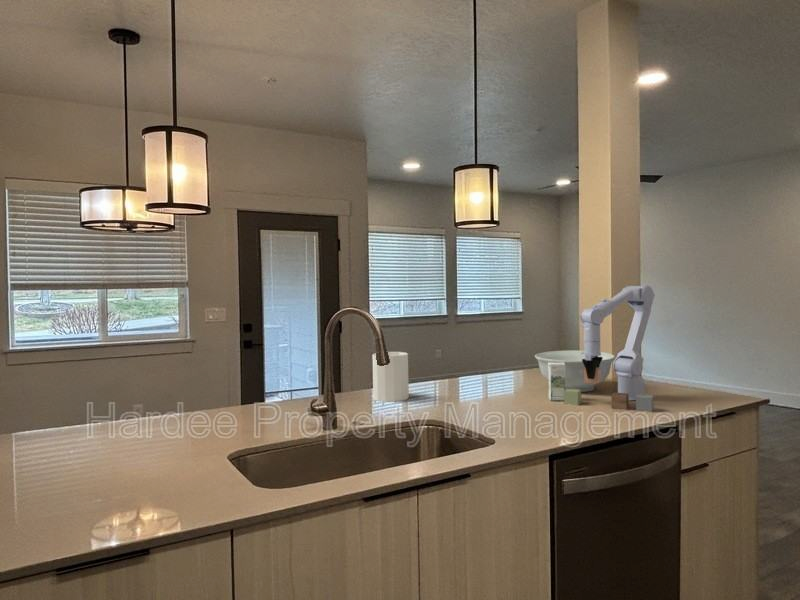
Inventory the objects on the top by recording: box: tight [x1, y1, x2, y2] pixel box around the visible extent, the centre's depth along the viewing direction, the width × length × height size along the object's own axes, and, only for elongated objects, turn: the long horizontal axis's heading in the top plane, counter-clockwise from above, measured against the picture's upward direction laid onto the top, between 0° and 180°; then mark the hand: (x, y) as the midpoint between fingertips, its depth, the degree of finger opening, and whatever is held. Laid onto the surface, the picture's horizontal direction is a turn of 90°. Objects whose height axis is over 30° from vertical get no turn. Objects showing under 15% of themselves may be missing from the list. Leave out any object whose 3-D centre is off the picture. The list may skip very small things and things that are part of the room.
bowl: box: [534, 349, 616, 393], centre depth 238 cm, size 32×32×15 cm
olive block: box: [563, 389, 582, 406], centre depth 210 cm, size 5×5×5 cm
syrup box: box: [547, 362, 566, 402], centre depth 217 cm, size 6×6×14 cm
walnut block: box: [610, 392, 630, 411], centre depth 202 cm, size 5×5×5 cm
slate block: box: [635, 394, 654, 413], centre depth 198 cm, size 5×5×5 cm
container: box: [371, 351, 410, 403], centre depth 228 cm, size 14×14×18 cm
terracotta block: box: [584, 367, 601, 384], centre depth 209 cm, size 5×5×5 cm
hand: (592, 377), depth 209 cm, fingers closed on terracotta block, 5 cm apart
